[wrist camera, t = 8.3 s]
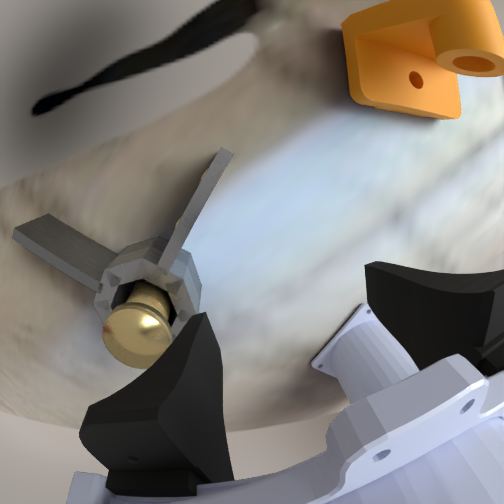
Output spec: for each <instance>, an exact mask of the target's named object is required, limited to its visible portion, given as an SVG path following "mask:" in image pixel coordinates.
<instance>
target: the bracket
mask: <svg viewBox="0 0 504 504" xmlns="http://www.w3.org/2000/svg"><path fill="white" fill-rule="evenodd" d="M341 26H342V32H343V39H344V46H345V53H346V61H347V70H348V79H349V90H350V95H351V97H352V98H353V100H354V101H355V102H357V103H358V104H361V105H368V106H374V108H376V109H382V110H389V111H395V112H401V113H406V114H411V115H416V116H421V117H433V118H438V119H442V120H445V119H457V118H459V117H460V115H461V103H460V94H459V87H458V80H457V74H462V75H467V76H475V77H496V76H501V75H504V38H503V35H502V32H501V29H500V25H499V22H498V19H497V17H496V14H495V11H494V9H493V6H492V4H491V2H490V1H489V0H391V1H388V2H385V3H382V4H379V5H376V6H373V7H370V8H367V9H365V10H362V11H359V12H357V13H354V14H352V15H350V16H349V17H348V18H347V19H346V20H345V21H344V22H343V23H342V24H341ZM456 73H457V74H456Z"/></svg>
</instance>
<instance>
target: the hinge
mask: <svg viewBox="0 0 504 504" xmlns="http://www.w3.org/2000/svg"><path fill="white" fill-rule="evenodd" d="M233 155H234V154H233V153H231V152H230V151H228V150H226V149H224V148H222V147H221V148H220V150H219V151H218V153H217V155H216V156H215V158H214V160H213V162H212V163H211V165H210V167H209V168H208V169H206V170H205V172H204V174H203V175H202V177H201V179H200V181H199V183H200V184H199V186H198V188H197V190H196V191H195V193H194V195H193V197H192V199H191V200H190V202H189V204H188V206H187V208H186V210H185V212H184V213H183V215H182V217H181V216H180V218H179V219H178V221H177V223H176V225H175V227H174V229H173V230H174V233H173V235H172V237H171V238H170V240H169V242H168V241H166V240H164V239H163V238H161V237H159V236H158V237H155V238H152V239H149V240H146V241H142V242H139V243H136V244H133V245H130V246H127V247H126V248H125V249H124V250H123V251H122V252H121V253H120V254H119V255H118V254H117V253H115V252H113V251H111V250H109V249H108V248H106V247H104V246H102V245H100V244H99V243H97V242H95V241H93V240H92V239H90V238H88V237H87V236H85V235H83V234H81V233H80V232H78V231H76V230H75V229H73V228H71V227H70V226H68V225H66V224H65V223H63V222H61V221H60V220H58V219H56V218H55V217H53V216H52V215H50V214H46V215H44V216H41V217H39V218H36V219H34V220H32V221H29V222H27V223H24V224H22V225H20V226H18V227H15V228H14V231H13V236H12V238H13V239H14V240H15V241H17V242H18V243H20V244H21V245H22V246H24V247H25V248H27V249H28V250H30V251H31V252H33V253H34V254H36V255H37V256H39V257H40V258H42V259H43V260H45V261H46V262H48V263H49V264H51V265H52V266H54V267H55V268H57V269H59V270H60V271H62V272H63V273H65V274H67V275H68V276H70V277H72V278H73V279H75V280H77V281H78V282H80V283H82V284H83V285H85V286H87V287H88V288H90V289H92V290H94V291H95V292H97V293H96V296H95V299H94V302H93V305H94V307H95V309H96V311H97V313H98V315H99V317H100V319H101V321H102V323H103V325H104V324H105V322H106V320H107V318H108V317H109V315H110V313H111V312H112V310H113V309H114V308H116V307H117V306H119V305H121V304H123V303H126V301H127V300H128V298H129V296H130V294H131V292H132V291H133V289H134V286H133V283H132V281H135V280H139V279H142V278H143V279H145V280H147V281H148V282H150V283H152V284H154V285H156V286H158V287H160V288H162V289H164V290H166V291H168V293H169V296H170V298H171V301H172V307H171V310H170V314H169V318H168V322H169V324H170V327H171V330H172V342H173V341H174V339H175V338H176V337H177V335H178V334H179V333H180V331H181V330H182V328H183V327H184V326H185V324H186V323H187V321H188V320H189V319H190V317H191V316H192V315H195V314H199V305H200V295H201V286H202V285H201V282H200V280H199V277H198V274H197V271H196V268H195V265H194V262H193V259H192V256H191V253H189V252H187V251H185V250H183V249H182V248H181V247H182V246H183V244H184V242H185V240H186V238H187V236H188V234H189V232H190V230H191V229H192V227H193V225H194V223H195V221H196V219H197V218H198V216H199V214H200V212H201V210H202V208H203V207H204V205H205V203H206V201H207V200H208V198H209V196H210V194H211V192H212V191H213V189H214V187H215V185H216V184H217V182H218V180H219V179H220V177H221V175H222V173H223V172H224V170H225V168H226V167H227V165H228V163H229V162H230V160H231V158H232V157H233Z"/></svg>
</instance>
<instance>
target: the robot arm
mask: <svg viewBox="0 0 504 504" xmlns="http://www.w3.org/2000/svg"><path fill="white" fill-rule="evenodd" d="M364 266H365V277H366V289H367V303H363V304H362V305H361V306H360V307H359V308H358V309H357V311H356V312H355V313H354V314H353V315H352V317H351V318H350V319H349V320H348V321H347V323H346V324H345V325H344V326H343V327H342V328H341V330H340V331H339V332H338V333H337V334H336V335H335V336H334V338H333V339H332V340H331V341H330V342H329V343H328V344H327V345H326V346H325V348H324V349H323V350H322V351H321V352H320V353H319V354H318V355H317V356H316V357H315V358H314V359H313V361H312V362H311V365H312V367H313V368H315V369H317V370H319V371H321V372H324V373H326V374H328V375H330V376H333V377H335V378H337V379H338V381H339V383H340V385H341V387H342V389H343V391H344V393H345V394H346V396H347V398H348V400H349V402H350V404H351V405H349V406H347V407H346V408H345V409H344V410H343V411H342V412H341V413H340V414H339V415H338V416H337V417H336V418H335V419H333V420H332V422H331V423H330V425H329V428H328V431H327V434H326V443H327V450H326V451H324V452H323V453H320V454H318V455H316V456H314V457H312V458H310V459H308V460H305V461H303V462H301V463H299V464H296V465H294V466H292V467H289V468H287V469H285V470H282V471H280V472H276V473H272V474H267V475H263V476H258V477H252V478H247V479H241V480H234V476H233V471H232V466H231V461H230V456H229V451H228V445H227V439H226V432H225V425H224V418H223V366H222V358H221V351H220V347H219V345H218V342H217V340H216V337H215V335H214V332H213V330H212V327H211V325H210V322H209V319H208V317H207V314H206V312H203V313H199V314H195V315H192V316H191V317H190V319H189V320H188V321H187V323H186V324H185V326H184V327H183V328H182V330H181V331H180V333H179V334H178V335H177V337H176V338H175V339H174V341H173V342H172V343H171V344H170V346H169V347H168V348H167V349H166V351H165V352H164V353H163V354H162V355H161V356H160V357H159V359H158V360H157V361H156V362H155V363H154V364H153V365H151V366H150V367H149V368H148V369H147V370H146V371H145V372H144V373H142V374H141V375H140V376H139V377H137V378H136V379H135V380H134V381H132V382H131V383H130V384H128V385H127V386H125V387H124V388H122V389H121V390H119V391H117V392H116V393H114V394H112V395H111V396H109V397H107V398H105V399H103V400H101V401H99V402H97V403H95V404H92V405H90V406H89V407H88V410H87V412H86V415H85V418H84V420H83V423H82V426H81V428H80V431H79V438H80V440H81V442H82V444H83V446H84V447H85V448H86V449H87V450H88V451H89V452H90V453H91V454H92V455H93V456H94V457H95V458H96V459H97V460H98V461H99V462H100V463H102V464H103V465H104V466H105V467H106V468H107V469H108V470H109V472H108V477H105V476H103V475H100V474H94V473H85V472H74V476H73V480H72V483H71V486H70V490H69V494H68V498H67V502H66V504H504V270H499V271H494V272H486V273H476V274H450V273H438V272H431V271H425V270H419V269H414V268H409V267H405V266H400V265H396V264H391V263H386V262H380V261H375V262H372V263H369V264H366V265H364ZM369 309H370V310H369ZM367 310H369V311H368V312H367ZM320 364H321V365H320ZM319 365H320V366H319Z"/></svg>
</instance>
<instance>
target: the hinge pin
mask: <svg viewBox="0 0 504 504" xmlns="http://www.w3.org/2000/svg"><path fill="white" fill-rule="evenodd" d="M171 307H172V301H171V298H170V296H169V293H168V291H166V290H164V289H162V288H160V287H158V286H156V285H154V284H152V283H150V282H148V281H147V280H145V279H143V278H142V279H139V280H138V282H137V283H136V285H135V287H134V289H133V291H132V292H131V294H130V296H129V298H128V300H127V301H126V303H123V304H121V305H119V306H117V307H116V308H114V309H113V310H112V312H111V313H110V315H109V317H108V318H107V320H106V322H105V324H104V326H103V331H102V335H103V341H104V343H105V346H106V348H107V349H108V351H109V352H110V353H111V354H112V355H113V356H114V357H115V358H116V359H117V360H118V361H120V362H122V363H123V364H125V365H127V366H130V367H133V368H139V369H148V368H149V367H150V366H151V365H153V364H154V363H155V362H156V361H157V360H158V359H159V357H160V356H161V355H162V354H163V353H164V352H165V351H166V349H167V348H168V347H169V346H170V344H171V343H172V330H171V327H170V324H169V322H168V318H169V314H170V310H171Z"/></svg>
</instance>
